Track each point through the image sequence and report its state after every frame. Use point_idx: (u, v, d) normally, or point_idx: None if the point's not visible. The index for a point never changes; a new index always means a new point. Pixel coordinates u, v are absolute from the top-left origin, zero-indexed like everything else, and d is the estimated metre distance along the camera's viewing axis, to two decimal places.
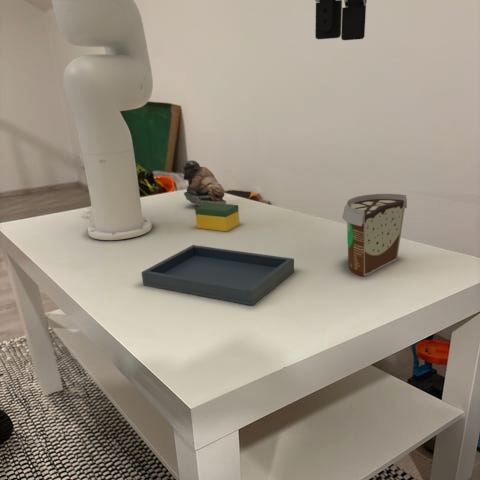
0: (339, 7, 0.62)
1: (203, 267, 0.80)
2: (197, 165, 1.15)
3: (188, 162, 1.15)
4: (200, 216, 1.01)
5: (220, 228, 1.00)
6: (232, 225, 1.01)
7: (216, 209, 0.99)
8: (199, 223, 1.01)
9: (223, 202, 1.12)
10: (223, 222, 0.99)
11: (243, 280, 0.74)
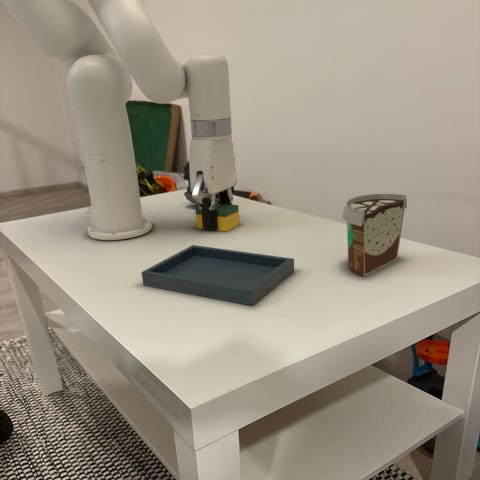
0: (214, 213, 0.98)
1: (203, 267, 0.80)
2: None
3: (188, 162, 1.15)
4: (200, 216, 1.01)
5: (220, 228, 1.00)
6: (232, 225, 1.01)
7: None
8: (199, 223, 1.01)
9: None
10: (223, 222, 0.99)
11: (243, 280, 0.74)
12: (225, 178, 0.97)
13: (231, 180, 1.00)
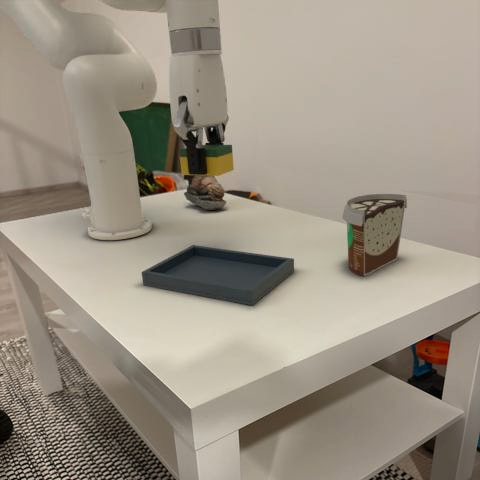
0: (202, 153, 0.79)
1: (203, 267, 0.80)
2: None
3: None
4: (185, 159, 0.81)
5: (210, 172, 0.80)
6: (225, 169, 0.82)
7: (205, 148, 0.80)
8: (184, 168, 0.82)
9: (223, 202, 1.12)
10: (214, 164, 0.79)
11: (243, 280, 0.74)
12: (214, 108, 0.78)
13: (222, 112, 0.81)
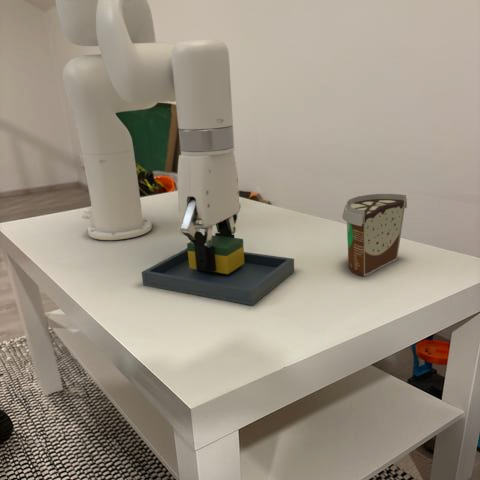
0: (211, 251, 0.74)
1: None
2: None
3: None
4: (193, 254, 0.77)
5: (219, 270, 0.76)
6: (236, 265, 0.77)
7: (214, 245, 0.75)
8: (192, 262, 0.78)
9: None
10: (224, 262, 0.75)
11: (243, 280, 0.74)
12: (225, 205, 0.74)
13: (233, 206, 0.76)
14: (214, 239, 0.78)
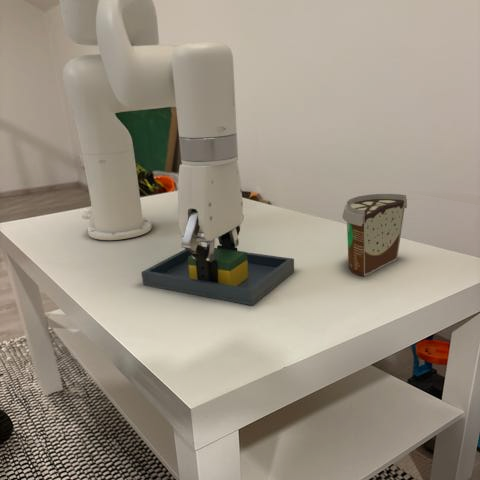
0: (214, 266, 0.70)
1: None
2: None
3: None
4: (194, 268, 0.73)
5: None
6: (239, 280, 0.73)
7: (217, 259, 0.71)
8: (193, 277, 0.74)
9: None
10: (227, 277, 0.71)
11: None
12: (228, 217, 0.70)
13: (236, 218, 0.72)
14: (216, 252, 0.74)
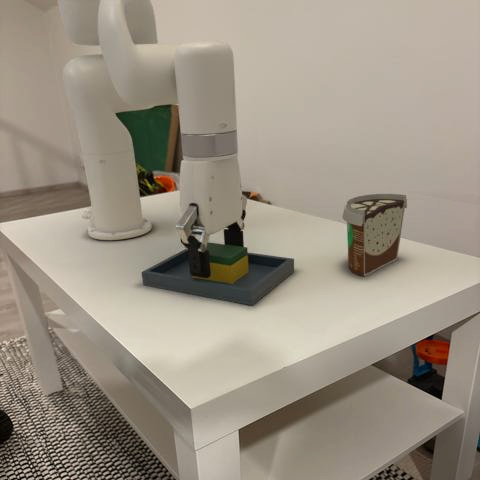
0: (206, 256, 0.70)
1: None
2: None
3: None
4: None
5: (223, 279, 0.74)
6: (240, 274, 0.75)
7: (218, 254, 0.73)
8: None
9: None
10: (228, 272, 0.73)
11: (243, 280, 0.74)
12: (228, 211, 0.72)
13: (236, 212, 0.74)
14: (217, 247, 0.76)
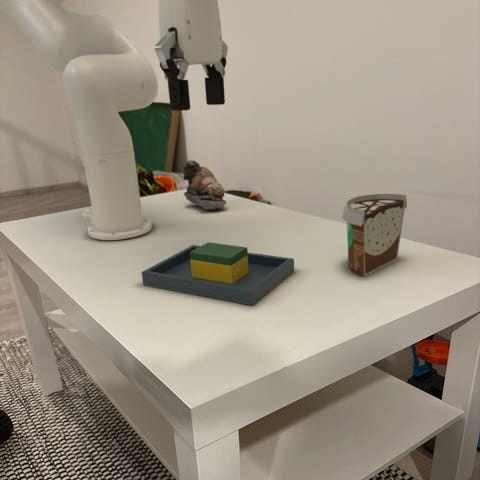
0: (185, 85, 0.72)
1: None
2: (197, 165, 1.15)
3: (188, 162, 1.15)
4: (196, 262, 0.75)
5: (223, 279, 0.74)
6: (240, 274, 0.75)
7: (218, 254, 0.73)
8: (195, 271, 0.76)
9: (223, 202, 1.12)
10: (228, 272, 0.73)
11: (243, 280, 0.74)
12: (207, 44, 0.74)
13: (216, 51, 0.76)
14: (217, 247, 0.76)
